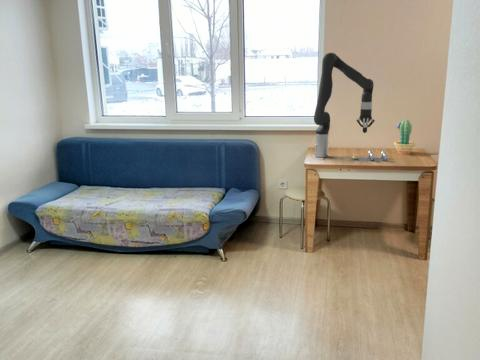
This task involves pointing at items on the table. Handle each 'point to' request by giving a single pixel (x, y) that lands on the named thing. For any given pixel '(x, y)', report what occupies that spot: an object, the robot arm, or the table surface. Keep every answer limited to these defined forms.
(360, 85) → the robot arm
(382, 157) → the spacer back right
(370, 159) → the cylinder
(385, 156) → the cylinder
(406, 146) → the potted cactus
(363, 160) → the mat
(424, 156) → the table surface
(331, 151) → the table surface
